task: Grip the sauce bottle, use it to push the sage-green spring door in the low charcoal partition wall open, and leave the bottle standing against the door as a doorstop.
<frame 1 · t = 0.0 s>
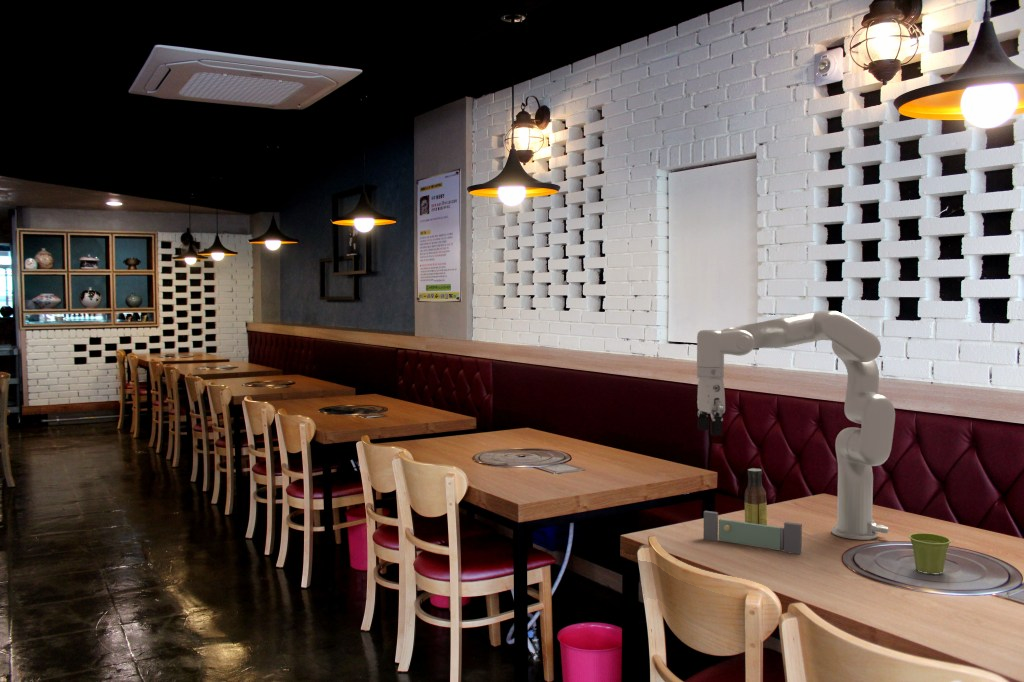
hand: (709, 432, 230), 31 cm above the table, tool pointing down, fingers open, 9 cm apart
plant pot: (929, 572, 204), on the table
sauce bottle: (755, 537, 235), on the table
door: (750, 534, 225), point 3 cm above the table, hinge at 0.0°
partition wall: (749, 545, 226), on the table
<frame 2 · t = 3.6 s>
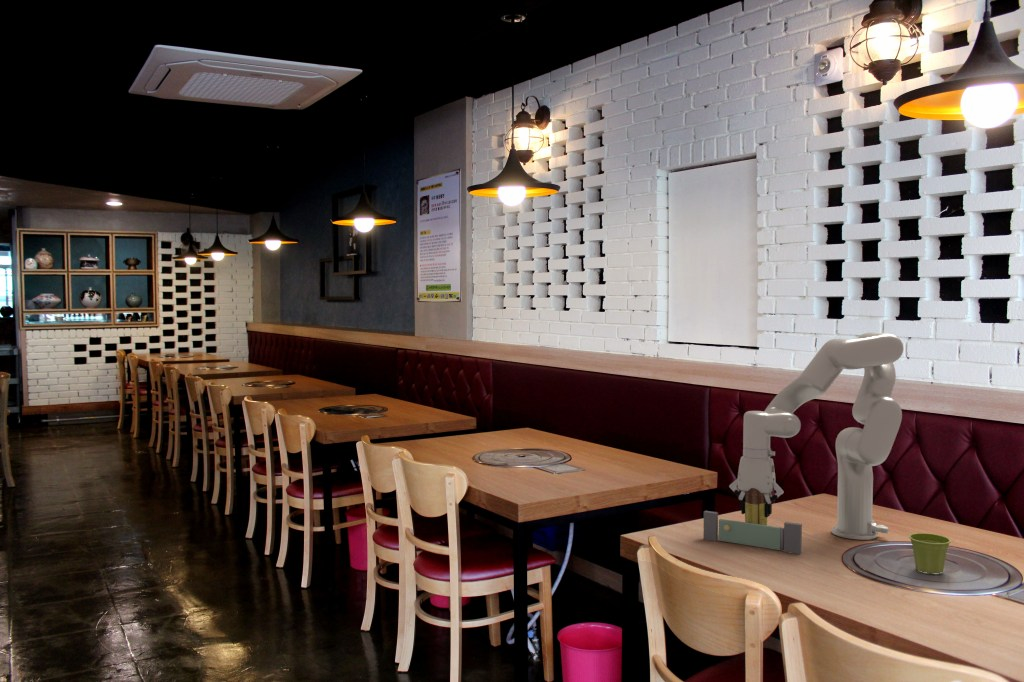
hand: (755, 514, 235), 7 cm above the table, tool pointing down, fingers closed on sauce bottle, 6 cm apart
sauce bottle: (755, 537, 235), on the table, touching gripper
everything else where it was.
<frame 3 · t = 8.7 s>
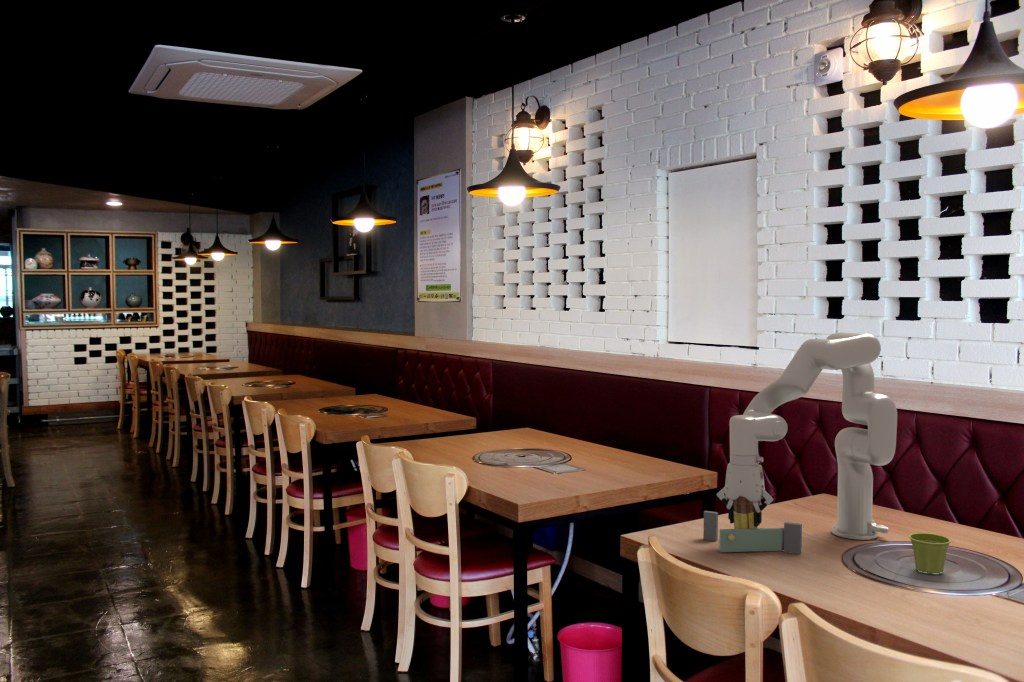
hand: (744, 523, 224), 7 cm above the table, tool pointing down, fingers closed on sauce bottle, 6 cm apart
sauce bottle: (745, 547, 225), on the table, touching gripper
door: (753, 540, 220), point 3 cm above the table, hinge at 38.2°
everything else where it was.
when the fingers open (7 cm above the table, at t = 12.2 s): sauce bottle stays where it is, on the table.
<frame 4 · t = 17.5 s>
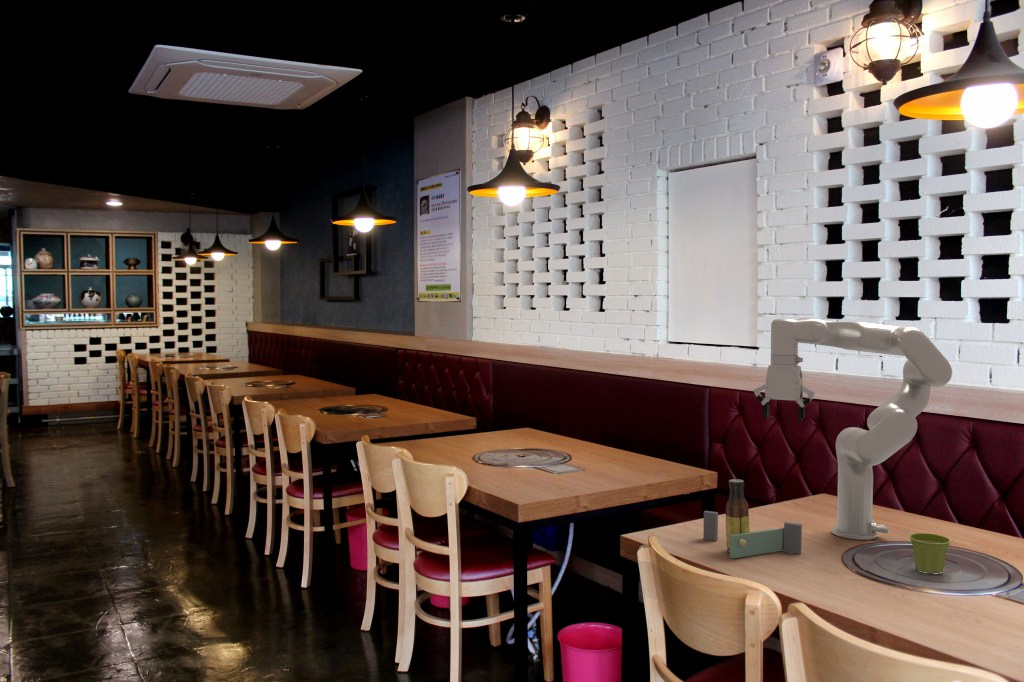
hand: (783, 419, 236), 34 cm above the table, tool pointing down, fingers open, 9 cm apart
sauce bottle: (737, 553, 220), on the table
door: (759, 543, 217), point 3 cm above the table, hinge at 57.1°
everything else where it was.
at the end: door at +57° (first picture: +0°); sauce bottle tilted 0°; sauce bottle inside the target area (1.6 cm from its centre), on the table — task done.
